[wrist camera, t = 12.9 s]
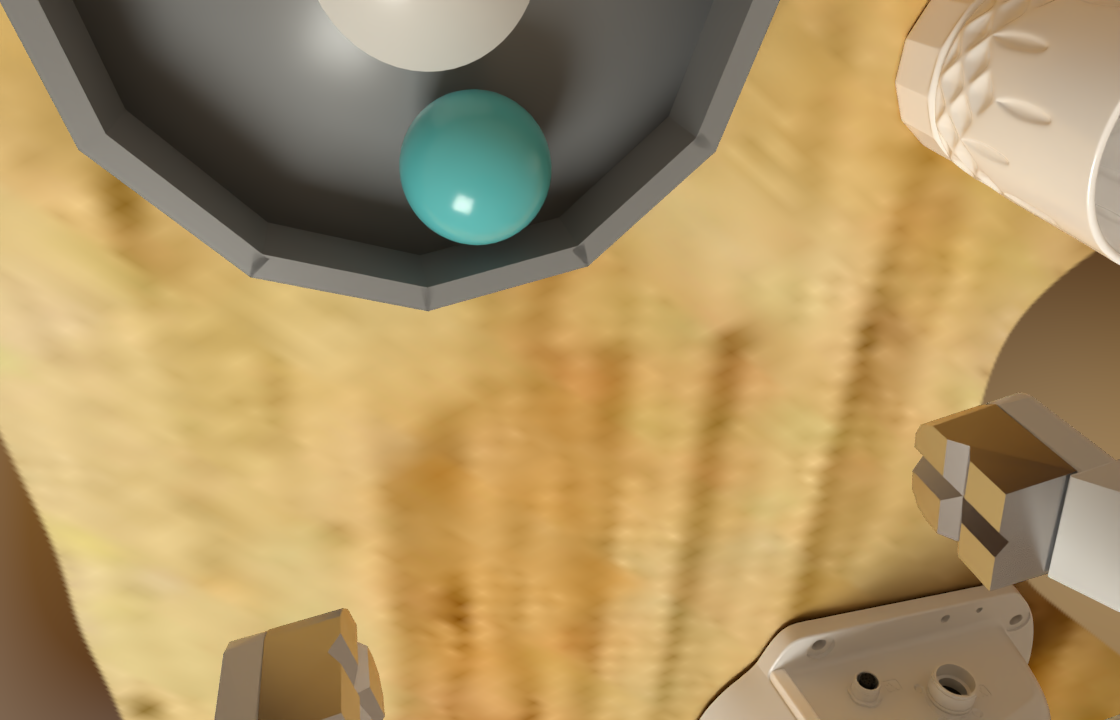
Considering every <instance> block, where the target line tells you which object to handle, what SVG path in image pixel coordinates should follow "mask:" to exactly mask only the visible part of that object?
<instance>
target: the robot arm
mask: <svg viewBox="0 0 1120 720" xmlns="http://www.w3.org/2000/svg"><path fill="white" fill-rule="evenodd" d="M915 448H916V449H917V450H918V451H919V452H920V453H921V454H922V455H923V457H922V458H921V460H920V461H919V463H918V464H917V465H916V467H915V468H914V470H913V475H912V490H913V493H914V496H915V499H916V503H917V506H918V508H919V510H920V511H921V513H922V515H923V516H924V518H925V520H926V521H927V522H928V523H929V524H930V526H931V527H932V528H933V529H934V530H935V531H936V533H938V534H940V535H943V536H945V537H948V538H950V539H953V540H956V541H958V557H959V558H960V559H961V560H962V562H963V563H964V564H965V565H966V566H967V567H968V568H969V569H970V570H971V571H972V573H973V574H974V575H975V576H976V577H977V578H978V579H979V580H980V581H981V582H982V584H983V586H978V587H973V588H968V589H963V590H958V591H953V592H948V593H943V594H939V595H934V596H929V597H924V598H919V599H914V600H909V601H904V602H899V603H894V604H889V605H884V606H879V607H874V608H869V609H864V610H859V611H854V612H849V613H844V614H839V615H834V616H829V617H824V618H819V619H814V620H809V621H804V622H799V623H795V624H792V625H790V626H788V627H786V628H785V629H783V630H782V631H781V632H780V633H779V634H777V635H776V637H775V638H774V639H773V640H772V641H771V643H770V644H769V645H768V647H767V648H766V650H765V651H764V652H763V654H762V655H761V657H760V658H759V660H758V661H757V663H756V664H755V665H754V666H753V667H752V668H751V669H750V670H749V671H748V672H746V673H745V674H744V675H743V676H742V677H740V678H739V679H738V680H737V681H735V682H734V683H733V684H732V685H731V686H729V687H728V688H727V689H726V690H725V691H724V692H723V693H722V694H720V695H719V696H718V697H717V698H716V700H715V701H714V702H713V703H712V704H711V705H710V706H709V707H708V709H707V710H706V711H705V712H704V714H703V715H702V717H701V718H700V720H1051V717H1050V711H1049V707H1048V704H1047V701H1046V698H1045V696H1044V693H1043V691H1042V689H1041V687H1040V685H1039V683H1038V681H1037V679H1036V678H1035V676H1034V674H1033V673H1032V671H1031V669H1030V667H1029V666H1028V662H1029V659H1030V655H1031V650H1032V644H1033V633H1034V627H1033V617H1032V613H1031V610H1030V607H1029V605H1028V603H1027V602H1026V600H1025V599H1024V598H1023V596H1022V595H1021V594H1020V592H1019V591H1018V590H1017V589H1016V587H1015V586H1013V585H1012V584H1015V583H1019V582H1022V581H1025V580H1028V579H1031V578H1035V577H1038V576H1041V575H1044V574H1048V577H1049V578H1051V579H1053V580H1055V581H1057V582H1059V583H1061V584H1063V585H1065V586H1067V587H1069V588H1071V589H1073V590H1075V591H1078V592H1079V593H1081V594H1084V595H1086V596H1088V597H1090V598H1092V599H1094V600H1096V601H1098V602H1100V603H1102V604H1104V605H1106V606H1108V607H1110V608H1112V609H1114V610H1116V611H1118V612H1120V459H1119V460H1115V459H1114V458H1112V457H1111V456H1110V455H1108V454H1107V453H1106V452H1105V451H1103V450H1102V449H1101V448H1099V447H1098V446H1096V445H1095V444H1094V443H1093V442H1091V441H1090V440H1089V439H1087V438H1086V437H1085V436H1083V435H1082V434H1081V433H1080V432H1078V431H1077V430H1076V429H1074V428H1073V427H1072V426H1070V425H1069V424H1068V423H1066V422H1065V421H1064V420H1063V419H1061V418H1060V417H1059V416H1057V415H1056V414H1055V413H1053V412H1052V411H1051V410H1049V409H1048V408H1047V407H1046V406H1044V405H1043V404H1042V403H1040V402H1039V401H1038V400H1036V399H1035V398H1034V397H1032V396H1030V395H1028V394H1025V393H1021V392H1020V393H1017V394H1013V395H1010V396H1007V397H1004V398H1001V399H998V400H995V401H992V402H989V403H987V404H985V405H979V406H976V407H973V408H970V409H967V410H964V411H961V412H958V413H955V414H952V415H949V416H946V417H943V418H940V419H937V420H934V421H931V422H928V423H925V424H922V425H920V427H919V429H918V430H917V432H916V436H915ZM384 717H385V713H384V700H383V693H382V688H381V683H380V678H379V673H378V670H377V667H376V665H375V662H374V659H373V657H372V655H371V652H370V650H369V648H368V646H366V645H363V644H361V643H358V642H357V625H356V623H355V621H354V619H353V618H352V616H351V614H350V612H349V611H348V609H344V608H342V609H339V610H335V611H332V612H328V613H325V614H321V615H318V616H315V617H311V618H308V619H304V620H301V621H297V622H294V623H290V624H287V625H284V626H280V627H277V628H273V629H270V630H268V631H265V632H262V633H259V634H255V635H252V636H248V637H245V638H241V639H238V640H234V641H231V642H229V644H228V646H227V648H226V650H225V652H224V654H223V661H222V668H221V675H220V683H219V690H218V698H217V705H216V712H215V720H383V718H384ZM1106 720H1120V714H1119V715H1117V716H1114V717H1111V718H1108V719H1106Z"/></svg>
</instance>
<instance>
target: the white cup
mask: <svg viewBox="0 0 1120 720" xmlns="http://www.w3.org/2000/svg"><path fill="white" fill-rule="evenodd" d="M895 85H896V91H897V97H898V103H899V109H900V115H901V120H902V121H903V122H904V124H905V125H906V126H907V127H908V128H909V129H910V131H911V132H912V133H913V134H914V135H915V136H916V138H917V139H918V140H919V141H920V142H921V143H922V144H923V145H924V146H926V147H927V148H929V149H931V150H933V151H934V152H936V153H938V154H940V155H941V156H943V157H945V158H947V159H948V160H950V161H952V162H954V163H955V164H956V165H957V166H958V167H960V168H961V169H962V170H963V171H965V172H966V173H968V174H969V175H970V176H972V177H973V178H975V179H976V180H978V181H980V182H982V183H984V184H986V185H987V186H989V187H991V188H992V189H993V190H995V191H996V192H998V193H999V194H1001V195H1002V196H1004V197H1005V198H1007V199H1008V200H1010V201H1011V202H1013V203H1015V204H1016V205H1018V206H1020V207H1022V208H1023V209H1025V210H1027V211H1029V212H1030V213H1032V214H1034V215H1035V216H1037V217H1039V218H1041V219H1042V220H1044V221H1046V222H1047V223H1049V224H1051V225H1053V226H1054V227H1056V228H1058V229H1059V230H1061V231H1063V232H1065V233H1066V234H1068V235H1070V236H1071V237H1073V238H1075V239H1077V240H1078V241H1080V242H1082V243H1083V244H1085V245H1087V246H1088V247H1090V248H1092V249H1093V250H1095V251H1097V252H1098V253H1100V254H1102V255H1103V256H1105V257H1107V258H1108V259H1110V260H1112V261H1113V262H1115V263H1117V264H1119V265H1120V0H930V2H929V3H928V5H927V6H926V8H925V10H924V11H923V13H922V14H921V16H920V17H919V19H918V20H917V22H916V23H915V25H914V27H913V28H912V30H911V31H910V33H909V34H908V36H907V38H906V40H905V44H904V48H903V52H902V56H901V60H900V64H899V68H898V72H897V76H896V80H895Z"/></svg>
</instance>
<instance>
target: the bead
mask: <svg viewBox="0 0 1120 720" xmlns="http://www.w3.org/2000/svg"><path fill="white" fill-rule="evenodd" d="M399 173H400V180H401V185H402V188H403V191H404V194H405V197H406V199H407V201H408V203H409V205H410V207H411V208H412V210H413V211H414V212H415V214H416V215H417V216H418V218H419V219H420V220H421V221H422V222H423V223H424V224H425V225H426V226H427V227H429V228H430V229H431V230H432V231H434V232H435V233H437V234H439V235H440V236H442V237H445V238H447V239H449V240H451V241H454V242H458V243H462V244H468V245H487V244H492V243H497V242H500V241H503V240H505V239H508V238H510V237H512V236H514V235H515V234H517V233H518V232H520V231H521V230H523V229H524V228H525V227H526V226H527V225H528V224H529V223H530V222H531V221H532V220H533V219H534V218H535V217H536V215H537V214H538V213H539V211H540V209H541V208H542V206H543V204H544V202H545V199H546V197H547V195H548V191H549V188H550V183H551V176H552V162H551V154H550V150H549V146H548V143H547V141H546V138H545V136H544V134H543V131H542V130H541V128H540V126H539V125H538V123H537V122H536V120H535V119H534V118H533V117H532V115H531V114H530V113H528V112H527V111H526V110H525V109H524V108H523V107H522V106H521V105H520V104H518V103H517V102H515V101H514V100H512V99H510V98H508V97H507V96H504V95H502V94H499V93H496V92H492V91H488V90H481V89H465V90H459V91H454V92H451V93H448V94H445V95H443V96H441V97H439V98H437V99H436V100H434V101H433V102H431V103H429V104H428V105H427V106H426V107H425V108H424V109H422V110H421V112H420V113H419V114H418V115H417V116H416V117H415V119H414V120H413V122H412V123H411V125H410V126H409V128H408V130H407V132H406V134H405V136H404V139H403V142H402V145H401V151H400V157H399Z"/></svg>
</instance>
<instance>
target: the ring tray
mask: <svg viewBox="0 0 1120 720" xmlns="http://www.w3.org/2000/svg"><path fill="white" fill-rule="evenodd" d="M779 1H780V0H0V3H1V5H2V6H3V8H4V10H5V12H6V14H7V16H8V18H9V20H10V21H11V23H12V25H13V27H14V29H15V31H16V33H17V35H18V37H19V38H20V40H21V42H22V44H23V46H24V48H25V50H26V52H27V54H28V55H29V57H30V59H31V61H32V63H33V65H34V67H35V69H36V71H37V72H38V74H39V76H40V78H41V80H42V82H43V84H44V86H45V87H46V89H47V91H48V93H49V95H50V97H51V99H52V101H53V103H54V104H55V106H56V108H57V110H58V112H59V114H60V116H61V118H62V120H63V121H64V123H65V125H66V127H67V129H68V131H69V133H70V135H71V137H72V138H73V140H74V142H75V144H76V146H77V148H78V150H80V151H81V152H82V153H84V154H85V155H86V156H88V157H89V158H90V159H92V160H93V161H94V162H96V163H97V164H98V165H100V166H101V167H103V168H104V169H105V170H107V171H108V172H109V173H111V174H112V175H113V176H115V177H116V178H117V179H119V180H120V181H121V182H123V183H124V184H125V185H127V186H128V187H129V188H131V189H132V190H134V191H135V192H136V193H138V194H139V195H140V196H142V197H143V198H144V199H146V200H147V201H148V202H150V203H151V204H152V205H154V206H155V207H156V208H158V209H159V210H161V211H162V212H163V213H165V214H166V215H167V216H169V217H170V218H171V219H173V220H174V221H175V222H177V223H178V224H179V225H181V226H182V227H183V228H185V229H186V230H188V231H189V232H190V233H192V234H193V235H194V236H196V237H197V238H198V239H200V240H201V241H202V242H204V243H205V244H206V245H208V246H209V247H210V248H212V249H213V250H215V251H216V252H217V253H219V254H220V255H221V256H223V257H224V258H225V259H227V260H228V261H229V262H231V263H232V264H233V265H235V266H236V267H237V268H239V269H240V270H241V271H243V272H244V273H246V274H247V275H248V276H250V277H252V278H257V279H263V280H268V281H273V282H278V283H284V284H289V285H294V286H299V287H305V288H310V289H315V290H320V291H325V292H331V293H336V294H341V295H346V296H352V297H357V298H362V299H367V300H372V301H378V302H383V303H388V304H393V305H399V306H404V307H409V308H414V309H419V310H425V311H430V310H434V309H437V308H441V307H444V306H448V305H451V304H455V303H459V302H462V301H466V300H469V299H473V298H476V297H480V296H483V295H487V294H491V293H494V292H498V291H501V290H505V289H508V288H512V287H516V286H519V285H523V284H526V283H530V282H533V281H537V280H540V279H544V278H548V277H551V276H555V275H558V274H562V273H565V272H569V271H573V270H576V269H580V268H583V267H588V266H589V265H590V264H591V263H592V262H593V261H594V260H595V259H596V258H598V257H599V256H600V255H601V254H602V253H603V252H604V251H605V250H606V249H608V248H609V247H610V246H611V245H612V244H613V243H614V242H615V241H617V240H618V239H619V238H620V237H621V236H622V235H623V234H624V233H625V232H627V231H628V230H629V229H630V228H631V227H632V226H633V225H634V224H635V223H637V222H638V221H639V220H640V219H641V218H642V217H643V216H644V215H645V214H647V213H648V212H649V211H650V210H651V209H652V208H653V207H654V206H655V205H657V204H658V203H659V202H660V201H661V200H662V199H663V198H664V197H665V196H667V195H668V194H669V193H670V192H671V191H672V190H673V189H674V188H675V187H677V186H678V185H679V184H680V183H681V182H682V181H683V180H684V179H685V178H687V177H688V176H689V175H690V174H691V173H692V172H693V171H694V170H695V169H697V168H698V167H699V166H700V165H701V164H702V163H703V162H704V161H705V160H707V159H708V158H709V157H710V156H711V155H712V154H713V153H714V152H716V149H717V147H718V144H719V142H720V140H721V137H722V135H723V133H724V130H725V128H726V126H727V123H728V121H729V119H730V116H731V114H732V111H733V109H734V107H735V104H736V102H737V100H738V97H739V95H740V93H741V90H742V88H743V86H744V83H745V81H746V78H747V76H748V74H749V71H750V69H751V67H752V64H753V62H754V60H755V57H756V55H757V53H758V50H759V48H760V46H761V43H762V41H763V38H764V36H765V34H766V31H767V29H768V27H769V24H770V22H771V20H772V17H773V15H774V13H775V10H776V8H777V5H778V3H779ZM465 89H481V90H488V91H492V92H496V93H499V94H502V95H504V96H507V97H508V98H510V99H512V100H514V101H515V102H517V103H518V104H520V105H521V106H522V107H523V108H524V109H525V110H526V111H527V112H528V113H530V114H531V115H532V117H533V118H534V119H535V120H536V122H537V123H538V125H539V126H540V128H541V130H542V131H543V134H544V136H545V138H546V141H547V143H548V146H549V150H550V154H551V162H552V176H551V183H550V188H549V191H548V195H547V197H546V199H545V202H544V204H543V206H542V208H541V209H540V211H539V213H538V214H537V215H536V217H535V218H534V219H533V220H532V221H531V222H530V223H529V224H528V225H527V226H526V227H525V228H524V229H523V230H521V231H520V232H518V233H517V234H515V235H514V236H512V237H510V238H508V239H505V240H503V241H500V242H497V243H492V244H487V245H468V244H462V243H458V242H454V241H451V240H449V239H447V238H445V237H442V236H440V235H439V234H437V233H435V232H434V231H432V230H431V229H430V228H429V227H427V226H426V225H425V224H424V223H423V222H422V221H421V220H420V219H419V218H418V216H417V215H416V214H415V212H414V211H413V210H412V208H411V207H410V205H409V203H408V201H407V199H406V197H405V194H404V191H403V188H402V185H401V180H400V173H399V157H400V151H401V145H402V142H403V139H404V136H405V134H406V132H407V130H408V128H409V126H410V125H411V123H412V122H413V120H414V119H415V117H416V116H417V115H418V114H419V113H420V112H421V110H422V109H424V108H425V107H426V106H427V105H428V104H429V103H431V102H433V101H434V100H436V99H437V98H439V97H441V96H443V95H445V94H448V93H451V92H454V91H459V90H465Z"/></svg>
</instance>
